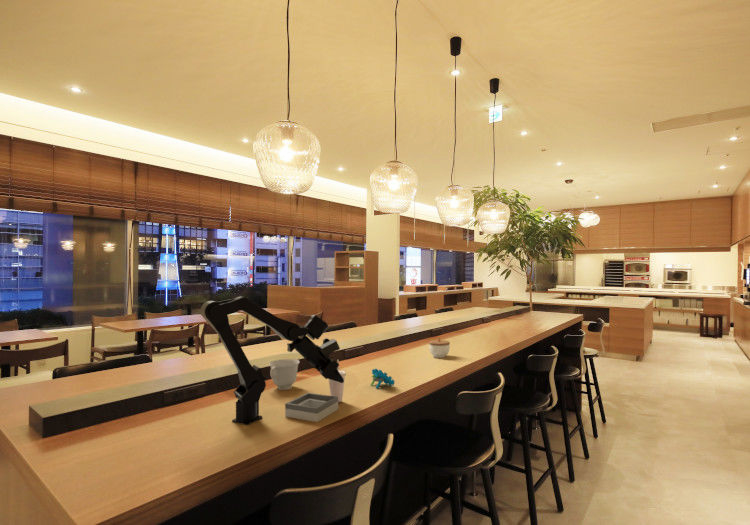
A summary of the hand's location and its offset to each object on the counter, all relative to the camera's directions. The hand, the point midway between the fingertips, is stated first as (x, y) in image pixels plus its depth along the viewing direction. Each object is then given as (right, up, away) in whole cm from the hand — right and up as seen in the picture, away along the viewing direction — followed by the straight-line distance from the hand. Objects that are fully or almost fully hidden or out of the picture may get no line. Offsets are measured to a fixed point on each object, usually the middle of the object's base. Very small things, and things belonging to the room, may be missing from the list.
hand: (340, 379), depth 135 cm
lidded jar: (+46, -9, +68) cm, 82 cm away
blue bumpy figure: (+15, -8, +17) cm, 24 cm away
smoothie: (-1, -7, -1) cm, 7 cm away
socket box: (-8, -7, -10) cm, 15 cm away
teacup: (-24, -9, +16) cm, 30 cm away
